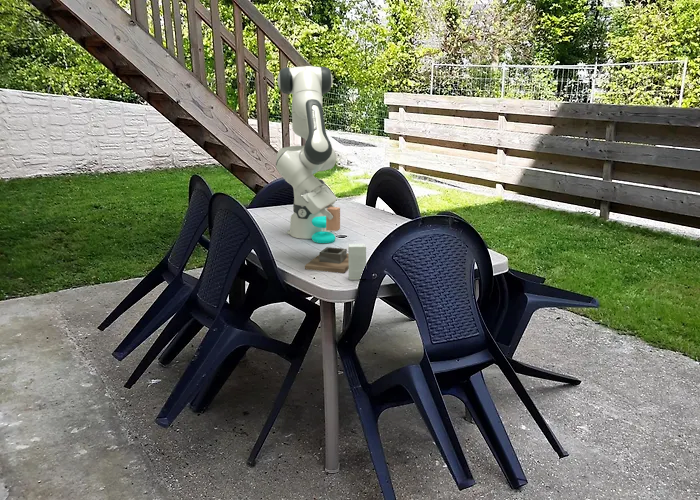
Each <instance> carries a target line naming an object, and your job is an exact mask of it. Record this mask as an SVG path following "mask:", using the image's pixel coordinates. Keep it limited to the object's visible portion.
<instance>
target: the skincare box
mask: <svg viewBox="0 0 700 500" xmlns="http://www.w3.org/2000/svg"><path fill="white" fill-rule="evenodd" d="M347 246H348V247H347V248H348V249H347V251H348V254H349V269H348V280H349V281H359V279H360V277H361V274H362V272H363V269H364V267H365V265H366V266H367V246H366V243H348V245H347Z"/></svg>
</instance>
